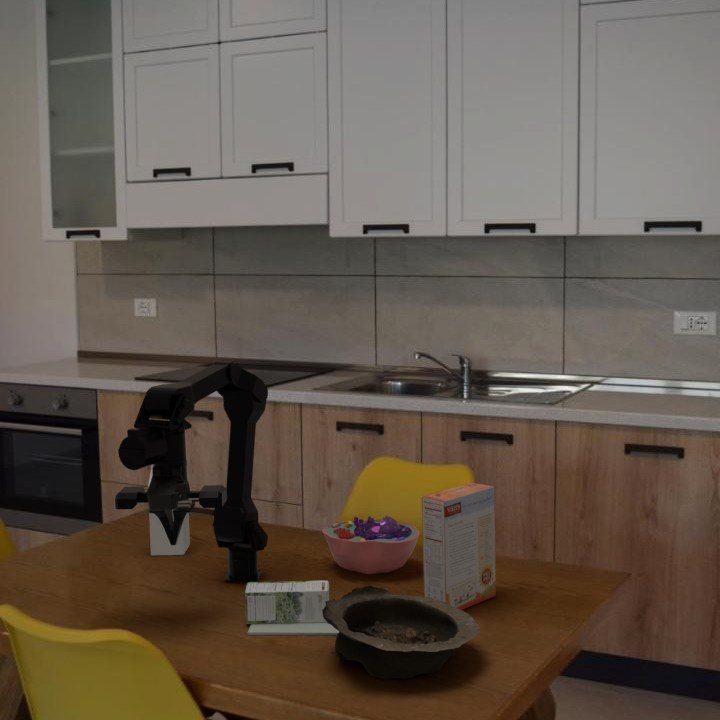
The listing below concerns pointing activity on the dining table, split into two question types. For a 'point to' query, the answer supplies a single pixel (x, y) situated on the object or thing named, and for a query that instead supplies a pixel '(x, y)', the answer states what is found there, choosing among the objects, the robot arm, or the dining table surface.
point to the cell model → (371, 544)
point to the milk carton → (159, 536)
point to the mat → (292, 629)
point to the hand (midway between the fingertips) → (173, 544)
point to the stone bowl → (397, 631)
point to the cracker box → (459, 545)
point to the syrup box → (286, 602)
